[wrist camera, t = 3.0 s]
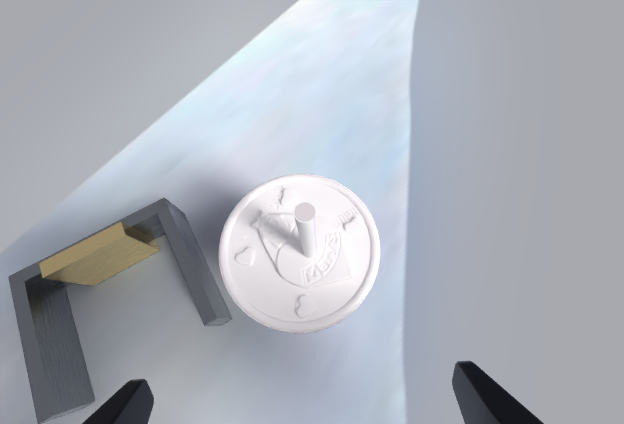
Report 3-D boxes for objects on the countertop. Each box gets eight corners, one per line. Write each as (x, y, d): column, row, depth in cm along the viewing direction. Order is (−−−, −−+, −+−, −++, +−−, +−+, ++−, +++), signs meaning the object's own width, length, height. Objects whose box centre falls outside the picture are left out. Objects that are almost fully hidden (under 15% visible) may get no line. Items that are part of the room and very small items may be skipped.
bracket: (232, 318, 19) (211, 317, 16) (82, 408, 18) (19, 431, 14) (184, 213, 22) (156, 191, 19) (50, 282, 21) (-9, 274, 17)
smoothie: (324, 349, 19) (330, 412, 6) (244, 294, 20) (99, 241, 7) (371, 264, 20) (460, 162, 7) (295, 219, 22) (257, 66, 9)
